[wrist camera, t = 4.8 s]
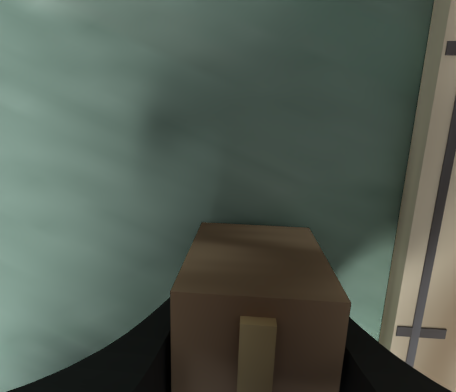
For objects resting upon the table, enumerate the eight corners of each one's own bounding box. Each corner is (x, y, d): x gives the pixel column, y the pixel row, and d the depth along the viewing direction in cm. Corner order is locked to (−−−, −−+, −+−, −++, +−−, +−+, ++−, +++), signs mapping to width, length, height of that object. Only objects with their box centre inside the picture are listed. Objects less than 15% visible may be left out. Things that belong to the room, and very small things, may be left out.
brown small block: (199, 358, 13) (169, 505, 8) (201, 222, 12) (166, 298, 7) (295, 365, 13) (325, 521, 8) (309, 227, 12) (355, 310, 7)
